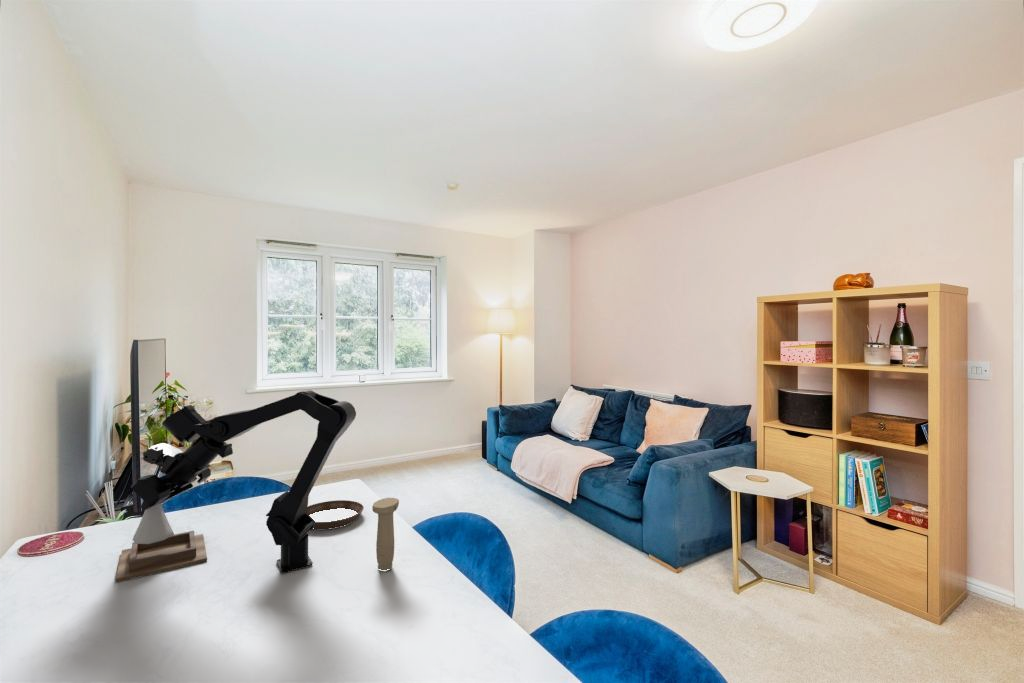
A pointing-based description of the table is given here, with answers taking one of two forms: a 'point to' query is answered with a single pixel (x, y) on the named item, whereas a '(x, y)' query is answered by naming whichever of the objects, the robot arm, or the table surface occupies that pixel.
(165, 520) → the flask
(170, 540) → the holder
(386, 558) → the handle
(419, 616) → the table surface
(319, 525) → the ring
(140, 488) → the robot arm
